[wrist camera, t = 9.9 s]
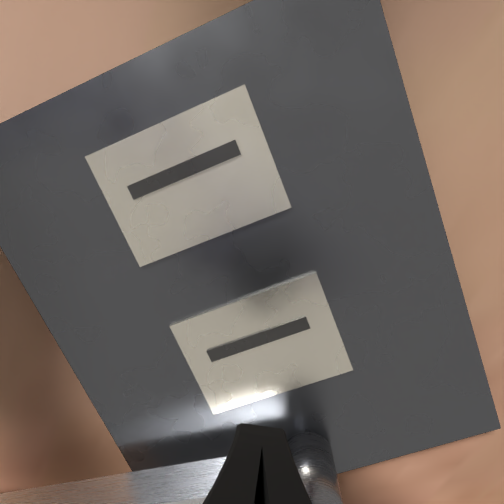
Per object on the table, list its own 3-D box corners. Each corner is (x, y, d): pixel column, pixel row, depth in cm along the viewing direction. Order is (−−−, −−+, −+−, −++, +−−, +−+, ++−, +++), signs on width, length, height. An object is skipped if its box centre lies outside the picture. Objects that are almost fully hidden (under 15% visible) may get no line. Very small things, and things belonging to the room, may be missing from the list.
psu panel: (168, 501, 21) (161, 527, 19) (-33, 151, 16) (-63, 150, 15) (486, 410, 18) (505, 432, 17) (356, -36, 14) (366, -60, 12)
